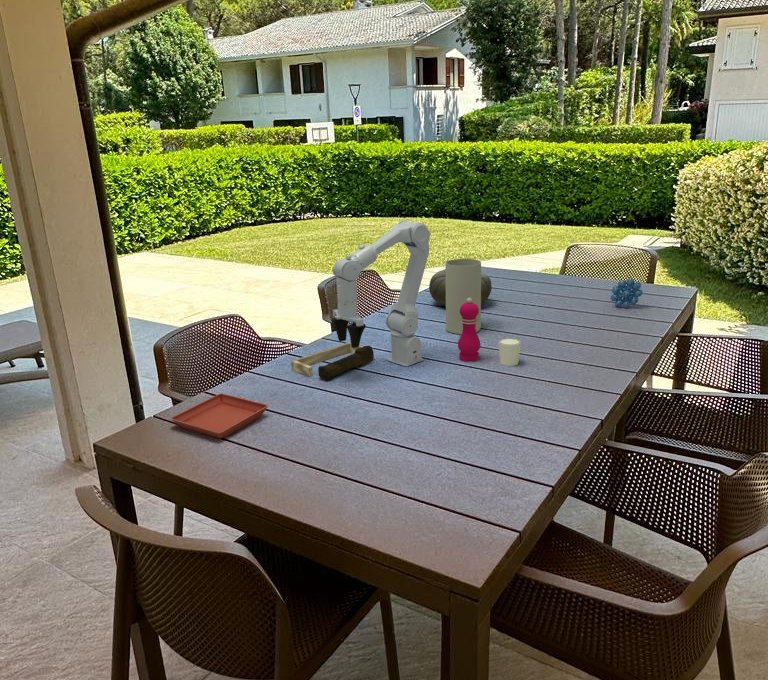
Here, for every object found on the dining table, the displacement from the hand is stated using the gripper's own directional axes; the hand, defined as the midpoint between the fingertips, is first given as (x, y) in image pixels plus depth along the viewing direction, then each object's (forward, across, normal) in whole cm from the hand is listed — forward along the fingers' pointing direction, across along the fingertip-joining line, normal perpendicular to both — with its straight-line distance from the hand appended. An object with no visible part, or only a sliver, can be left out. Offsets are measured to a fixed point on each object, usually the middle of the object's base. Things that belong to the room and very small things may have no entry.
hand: (348, 343), depth 195 cm
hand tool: (+10, -4, +2) cm, 11 cm away
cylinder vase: (+9, -12, +55) cm, 57 cm away
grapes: (+7, +7, +122) cm, 123 cm away
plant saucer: (+12, +8, -44) cm, 46 cm away
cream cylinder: (+9, +23, +44) cm, 51 cm away
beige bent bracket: (+10, -12, +1) cm, 16 cm away
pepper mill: (+9, +12, +37) cm, 40 cm away
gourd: (+8, -39, +77) cm, 87 cm away
